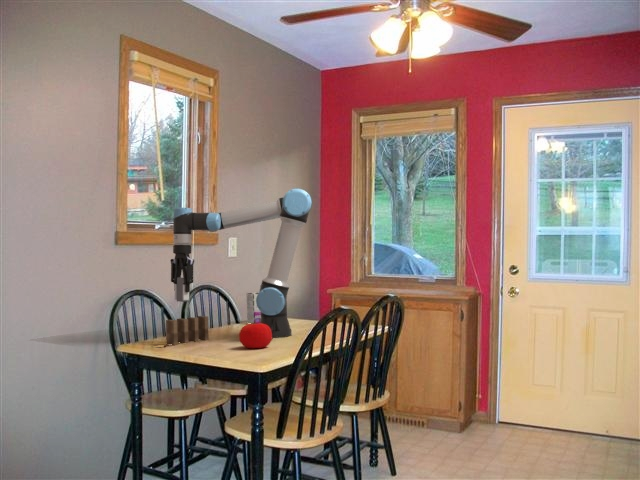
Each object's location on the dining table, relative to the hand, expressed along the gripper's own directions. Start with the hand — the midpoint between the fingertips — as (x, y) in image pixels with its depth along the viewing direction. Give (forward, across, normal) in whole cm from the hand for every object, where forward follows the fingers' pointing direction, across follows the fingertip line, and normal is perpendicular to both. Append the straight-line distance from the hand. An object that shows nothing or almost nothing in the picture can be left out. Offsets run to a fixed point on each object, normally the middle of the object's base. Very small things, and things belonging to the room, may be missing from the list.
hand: (181, 299), depth 265 cm
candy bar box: (+17, -22, +63) cm, 69 cm away
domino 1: (+18, +3, -7) cm, 19 cm away
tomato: (+17, +39, +6) cm, 43 cm away
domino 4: (+18, +2, +4) cm, 18 cm away
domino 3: (+18, +2, -1) cm, 18 cm away
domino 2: (+1, 0, 0) cm, 1 cm away
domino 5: (+18, +2, +10) cm, 20 cm away
